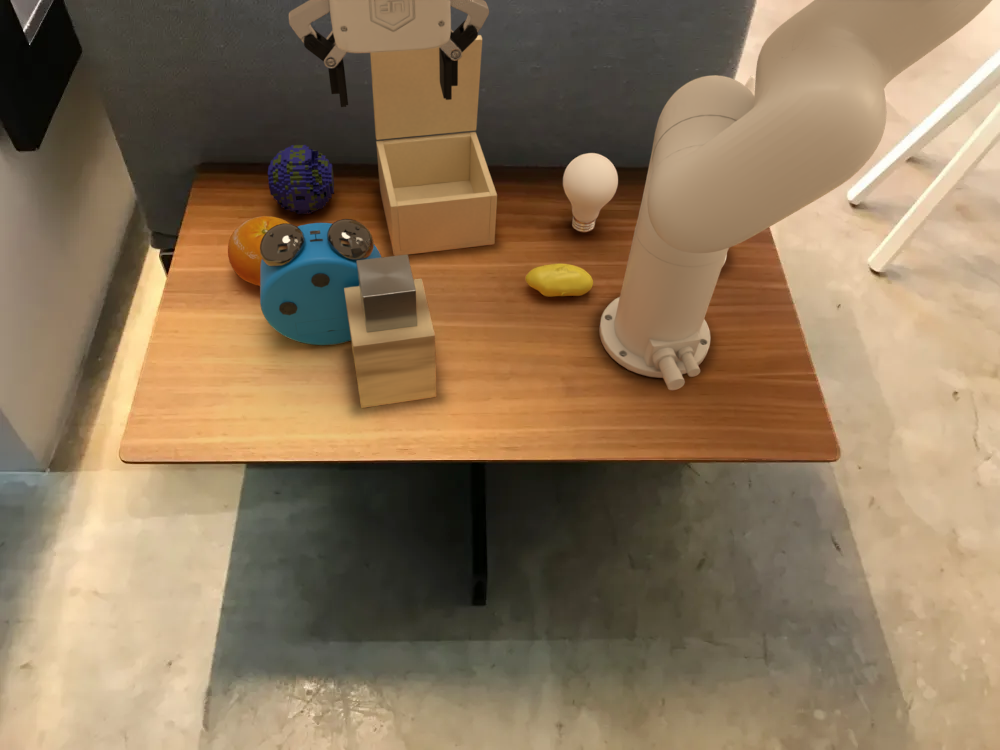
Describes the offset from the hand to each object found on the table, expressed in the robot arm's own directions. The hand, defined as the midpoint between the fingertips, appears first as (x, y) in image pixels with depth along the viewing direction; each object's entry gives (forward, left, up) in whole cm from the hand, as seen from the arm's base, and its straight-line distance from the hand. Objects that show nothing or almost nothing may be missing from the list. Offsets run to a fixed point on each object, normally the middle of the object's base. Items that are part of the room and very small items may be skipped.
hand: (395, 95), depth 80 cm
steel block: (-12, +3, -16) cm, 21 cm away
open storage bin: (+12, -6, -26) cm, 29 cm away
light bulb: (+7, -24, -26) cm, 36 cm away
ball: (+18, +10, -26) cm, 33 cm away
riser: (-12, +3, -26) cm, 29 cm away
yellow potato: (-3, -18, -26) cm, 32 cm away
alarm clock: (-4, +9, -26) cm, 28 cm away
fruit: (+6, +15, -26) cm, 31 cm away
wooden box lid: (+17, -6, -11) cm, 22 cm away
